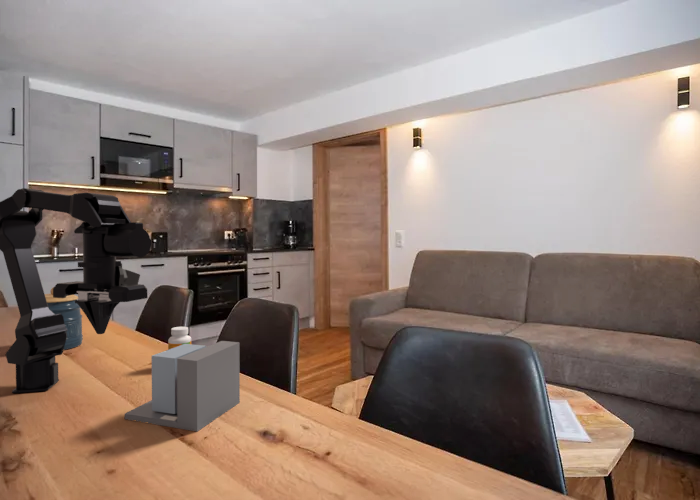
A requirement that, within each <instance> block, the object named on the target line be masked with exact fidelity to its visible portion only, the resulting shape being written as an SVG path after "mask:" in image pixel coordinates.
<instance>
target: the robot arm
mask: <svg viewBox="0 0 700 500" xmlns="http://www.w3.org/2000/svg"><path fill="white" fill-rule="evenodd" d="M24 208H26V209H27V208H28V209H30V210H29V211H26V210H23V209H24ZM44 210H46V211H52V212H59V213H64V214H68V215H70V216H71V218H74V219H76V220H79V221H81V224H80V225H78V226H77V227H76V228H75V229H74V230H73V233H74V234H81V235H82V261H77V268H82V270H83V271H82V274H83V275H82V278H83V280H82V281H78V280H76V281H68V282H58V283H55V285H54V286H53V287H54V288H53V287H52V288H53V298H66V296H69V295H75V296H76V295H77V296H78V299H77V300H75V303H77V304H78V305H79V306H80V310H82V312H83V314H84V315H85V316H86V317H87V318H86V319H88V321H89V323H90V324H91V326H92V327H93V329H94V331H95V332H96V335H103V334H105V333H106V330H107V327H108V325H109V322H110V320H111V317H112V315H113V312H114V310H115V308H116V307H117V306H118V305H119V304H120V303H128V302H134V301H140V300H145V299H148V288H147V287H146V286H145V285H144V284H141V283H140V284H139V281H140V278H141V274H140V273H136V272H135V271H131V270H128V269H126V268H123V263H122V261H121V260H117V258H144V257H146V256H147V255H148V254H149V252H150V250H151V248H152V239H151V237H150V234H149V233H148V231H147V230H145V228H144V223H143V222H139V221H138V222H134V221H133V222H132V221H131V220H130V218H129V217H128V214H127V213H126V212H125V210H124V208H123V207H122V205H121V202H120V201H119V197H118V196H115V195H112V194H103V193H96V192H95V193H94V192H76V193H73V194H66V193H64V194H63V193H57V192H49V191H44V190H42V189H36V188H28V187H27V188H25V187H23V188H18V189H17V190H15V192H13V194H12V195H11V196H9V197H7V198H5V199H3V200H1V201H0V251H1V252H2V255H3V258H4V261H5V265H6V268H7V272H8V275H9V279H10V283H11V286H12V290H13V294H14V297H15V301H16V304H17V308H18V311H19V315H20V317H19V320H18V322H17V324H16V327H15V329H14V334H15V341H14V342H13V343H12V344H11V346H10V347H9V348H8V349H7V351H6V352H5V358H6V362H7V363H8V364H10V365H11V364H12V365H15V388H14V389H12V390H11V394H17V393H18V394H20V393H31V392H45V391H49V390H50V389H51V388H52V387H54V386H55V385H56V384H57V383H59V381H60V379H59V363H58V362H56V356H61V355H63V352H64V351H65V350H64V346H65V342H66V340H67V333H66V331H68V330H67V328H66V326H65V324H64V318H63V316H62V314H54V313H53V312H52V311H51V310H49V308H48V305H47V301H46V298H45V294H46V293H45V291H44V287H43V285H42V284H43V283H42V280H41V277H40V273H39V271H38V267H37V263H36V260H35V256H34V252H33V248H32V245H33V243H34V241H35V238H36V236H37V229H36V227H37V226H38V225H39V224H40V223H41V222H42V220H43V211H44Z"/></svg>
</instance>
